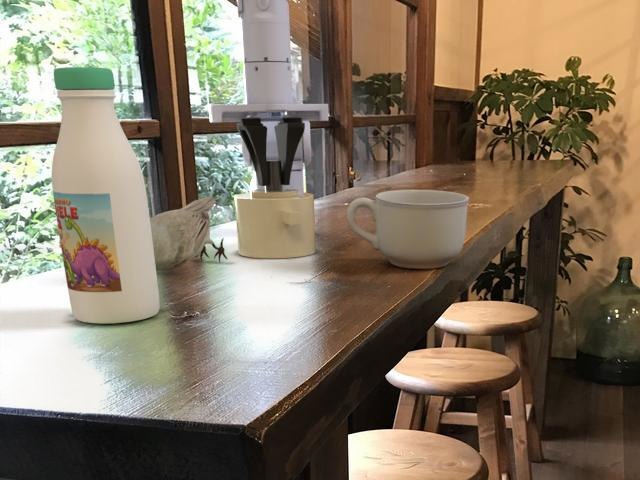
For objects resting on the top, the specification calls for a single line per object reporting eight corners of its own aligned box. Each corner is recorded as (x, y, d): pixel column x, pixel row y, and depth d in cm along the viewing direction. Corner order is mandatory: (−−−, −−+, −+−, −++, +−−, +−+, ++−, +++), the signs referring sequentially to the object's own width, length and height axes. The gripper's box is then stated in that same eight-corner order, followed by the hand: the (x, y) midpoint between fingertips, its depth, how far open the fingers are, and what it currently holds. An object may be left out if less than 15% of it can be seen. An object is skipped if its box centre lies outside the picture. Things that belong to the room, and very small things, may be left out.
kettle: (225, 246, 110) (218, 158, 105) (294, 241, 113) (291, 156, 108) (257, 264, 97) (251, 165, 92) (335, 258, 100) (333, 162, 95)
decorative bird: (106, 281, 88) (95, 209, 85) (199, 259, 101) (193, 195, 97) (144, 286, 85) (134, 211, 82) (234, 262, 98) (229, 197, 95)
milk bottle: (133, 302, 78) (103, 70, 70) (177, 315, 73) (150, 67, 65) (57, 316, 73) (15, 68, 65) (99, 330, 68) (58, 64, 60)
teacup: (465, 257, 100) (468, 189, 96) (466, 274, 90) (470, 198, 87) (353, 256, 101) (352, 189, 98) (343, 272, 91) (341, 198, 88)
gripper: (215, 60, 90) (225, 190, 96) (336, 62, 95) (338, 184, 101) (201, 63, 96) (211, 185, 101) (315, 65, 101) (319, 180, 107)
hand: (273, 185), depth 101 cm, fingers closed on kettle, 2 cm apart
